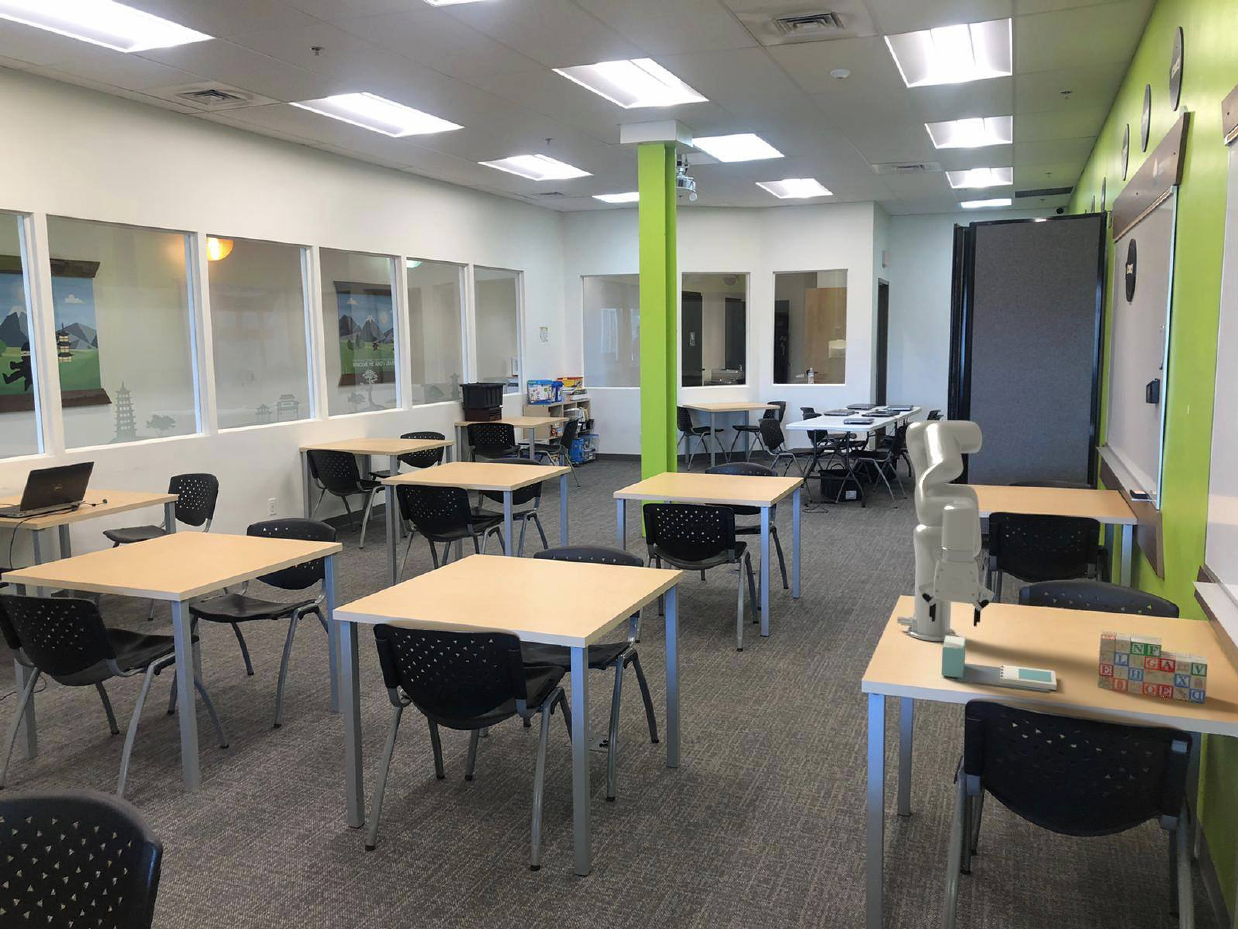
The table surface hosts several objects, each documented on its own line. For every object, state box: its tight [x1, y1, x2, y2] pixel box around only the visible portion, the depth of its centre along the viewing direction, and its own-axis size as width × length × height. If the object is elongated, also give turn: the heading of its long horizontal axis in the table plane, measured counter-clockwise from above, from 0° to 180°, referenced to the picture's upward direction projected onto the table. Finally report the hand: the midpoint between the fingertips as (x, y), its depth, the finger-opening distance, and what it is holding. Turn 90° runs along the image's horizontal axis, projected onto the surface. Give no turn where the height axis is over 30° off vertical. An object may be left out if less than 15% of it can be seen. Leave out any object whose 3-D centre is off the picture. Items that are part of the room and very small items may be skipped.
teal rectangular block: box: [941, 635, 967, 678], centre depth 227 cm, size 5×10×7 cm, turn 157°
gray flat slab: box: [956, 662, 1057, 694], centre depth 223 cm, size 22×13×2 cm, turn 67°
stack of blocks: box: [1097, 630, 1208, 704], centre depth 214 cm, size 21×6×12 cm, turn 60°
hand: (954, 622), depth 227 cm, fingers open, 9 cm apart
